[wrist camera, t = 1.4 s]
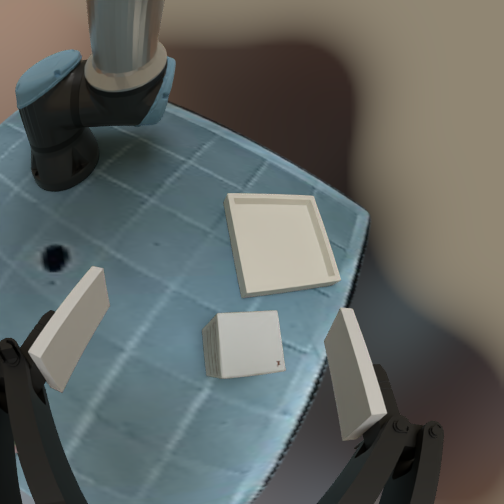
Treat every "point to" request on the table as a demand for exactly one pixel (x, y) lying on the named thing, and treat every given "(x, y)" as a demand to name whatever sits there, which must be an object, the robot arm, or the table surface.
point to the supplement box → (243, 344)
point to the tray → (278, 244)
